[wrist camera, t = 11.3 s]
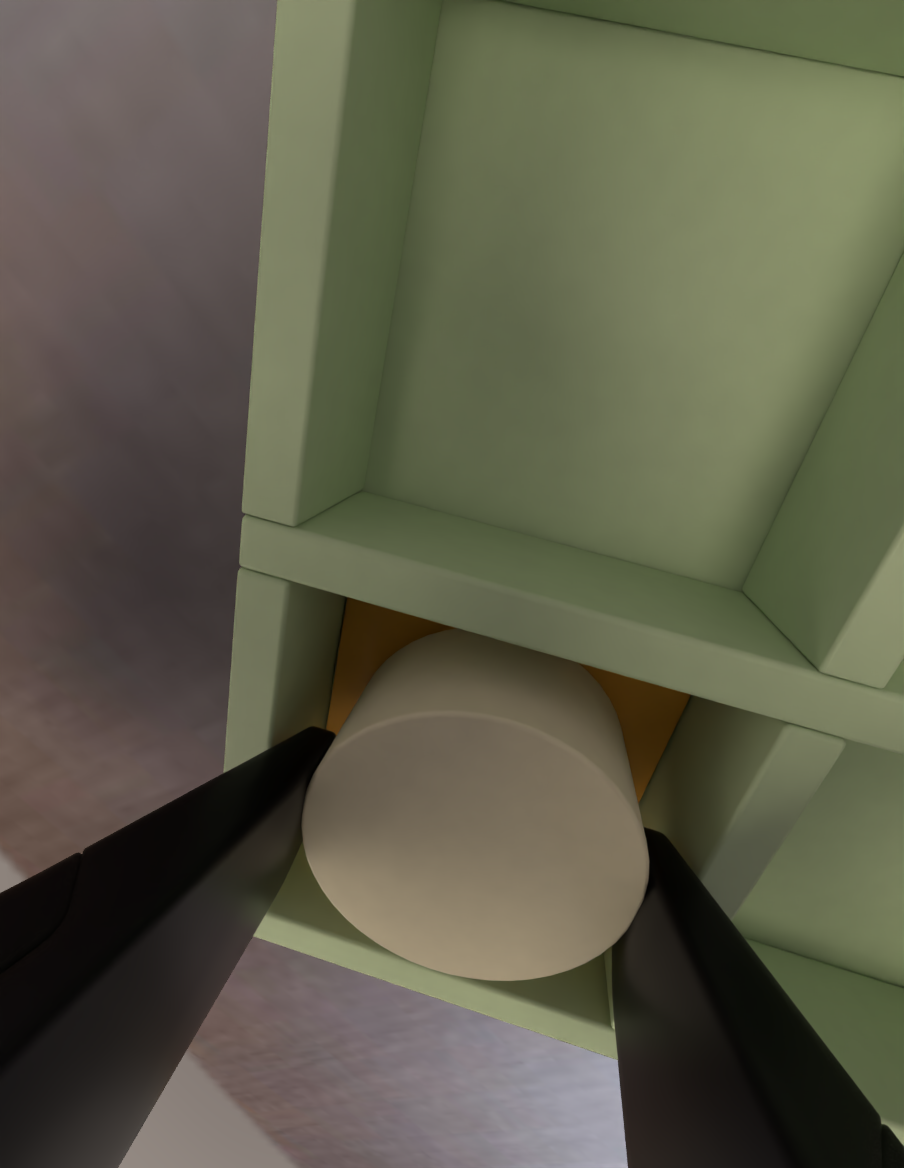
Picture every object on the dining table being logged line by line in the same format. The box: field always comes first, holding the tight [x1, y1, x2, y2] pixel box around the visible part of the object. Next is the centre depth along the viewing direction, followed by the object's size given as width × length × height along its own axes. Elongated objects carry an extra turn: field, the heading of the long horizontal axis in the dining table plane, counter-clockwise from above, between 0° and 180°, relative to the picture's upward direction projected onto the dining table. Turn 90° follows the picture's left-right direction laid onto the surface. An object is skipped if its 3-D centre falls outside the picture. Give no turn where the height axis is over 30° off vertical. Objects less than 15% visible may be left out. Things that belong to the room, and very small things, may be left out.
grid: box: [224, 0, 904, 1146], centre depth 7 cm, size 14×14×3 cm
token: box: [301, 629, 649, 981], centre depth 8 cm, size 5×5×2 cm
